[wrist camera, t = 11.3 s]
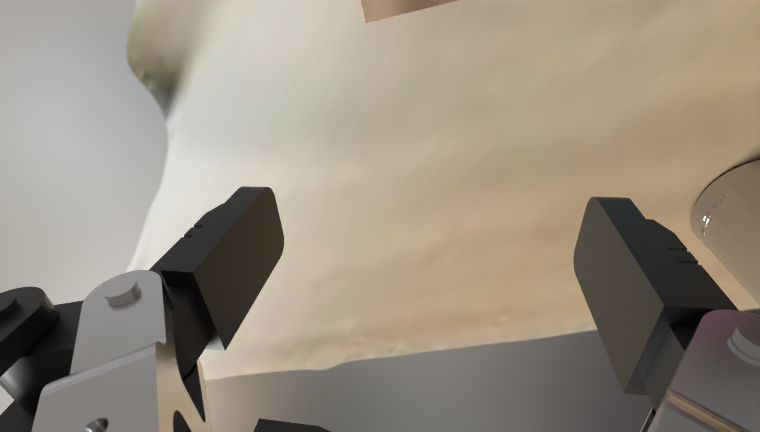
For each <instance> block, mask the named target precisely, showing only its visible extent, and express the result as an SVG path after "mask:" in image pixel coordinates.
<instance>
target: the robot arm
mask: <svg viewBox="0 0 760 432" xmlns="http://www.w3.org/2000/svg"><path fill="white" fill-rule="evenodd" d="M691 225H692V228H693V231H694V233H695V234H696V235H697V237H698V238H699V239H700V240H701V241H702V242H703V243H704V244H705V246H706V247H707V248H708V249H709V250H710V251H711V252H712V253H713V254H714V255H715V256H716V258H717V259H718V260H719V261H720V262H721V263H722V264H723V265H724V267H725V268H726V269H727V270H728V271H729V272H730V273H731V274H732V275H733V276H734V277H735V279H736V280H737V281H738V282H739V283H740V284H741V285H742V286H743V287H744V288H745V289H746V291H747V292H748V293H749V294H750V295H751V296H752V297H753V298H754V299H755V300H756V301H757V303H758V304H759V305H760V160H757V161H753V162H750V163H747V164H744V165H742V166H739V167H737V168H735V169H733V170H731V171H729V172H727V173H726V174H724V175H723V176H721V177H719V178H718V179H717V180H716V181H714V182H713V183H712V184H711V185H710V186H708V187H707V188H706V190H705V191H704V192H703V193H702V194H701V195H700V197H699V198H698V200H697V202H696V204H695V205H694V208H693V211H692V215H691ZM283 248H284V235H283V230H282V226H281V221H280V217H279V213H278V208H277V204H276V199H275V195H274V193H273V191H272V189H271V188H269V187H240V188H239V189H238V190H237V191H236V192H235V193H234V194H233V195H232V196H231V197H230V198H229V199H228V200H227V201H226V202H225V203H224V204H221V205H220V206H218V207H216V208H214V209H213V210H211V211H209V212H207V213H206V214H205V215H204V216H203V217H202V218H201V219H200V220H199V221H198V222H197V223H196V224H195V225H194V228H191V229H190V230H189V231H188V232H187V233H186V234H185V235H184V237H182V238H181V239H180V240H179V241H178V242H177V243H176V244H175V245H174V246H173V247H172V248H171V249H170V250H169V251H168V252H167V253H166V254H165V255H164V256H162V257H161V258H160V259H159V260H158V261H157V262H156V263H155V264H154V265H153V266H152V267H151V268H150V269H149V270H138V271H131V272H127V273H124V274H121V275H118V276H116V277H114V278H111V279H109V280H107V281H106V282H104V283H102V284H101V285H99V286H98V287H96V288H95V289H94V290H93V291H92V292H91V293H90V294H89V295H88V296H87V297H86V298H85V300H84V301H78V302H72V303H65V304H59V305H53V304H52V303H51V301H50V300H49V298H48V297H47V295H46V294H45V293H44V291H43V290H42V289H40V288H37V287H22V288H17V289H12V290H9V291H6V292H3V293H0V385H1V386H2V387H3V388H4V389H5V390H6V391H7V392H8V394H9V395H10V396H11V397H12V398H13V399H14V401H13V403H12V404H11V405H10V406H9V407H8V408H7V409H6V410H5V411H4V412H3V413H2V414H1V415H0V432H213V429H212V423H211V417H210V411H209V405H208V400H207V393H206V388H205V381H204V375H203V369H202V365H201V363H200V360H199V357H200V355H201V354H202V352H203V351H204V349H210V350H220V351H225V350H226V349H227V347H228V345H229V343H230V342H231V340H232V338H233V337H234V335H235V333H236V332H237V330H238V328H239V327H240V325H241V323H242V321H243V320H244V318H245V316H246V315H247V313H248V311H249V310H250V308H251V306H252V305H253V303H254V301H255V300H256V298H257V296H258V294H259V293H260V291H261V289H262V288H263V286H264V284H265V283H266V281H267V279H268V278H269V276H270V274H271V273H272V271H273V269H274V267H275V266H276V264H277V262H278V261H279V259H280V257H281V255H282V252H283ZM574 270H575V274H576V277H577V279H578V282H579V284H580V287H581V289H582V292H583V294H584V297H585V299H586V301H587V304H588V306H589V309H590V311H591V314H592V316H593V319H594V321H595V324H596V326H597V329H598V331H599V334H600V336H601V339H602V341H603V344H604V346H605V348H606V351H607V354H608V356H609V358H610V361H611V363H612V366H613V368H614V371H615V373H616V376H617V378H618V381H619V383H620V386H621V388H622V391H623V393H629V394H639V395H648V397H649V399H650V401H651V403H652V405H653V408H652V409H651V411H650V413H649V415H648V417H647V419H646V421H645V423H644V425H643V427H642V430H641V432H760V316H757V315H755V314H751V313H747V312H743V311H739V310H738V309H737V308H736V306H735V305H734V304H733V303H732V302H731V300H730V299H729V298H728V297H727V296H726V294H725V293H724V292H723V291H722V290H721V289H720V287H719V286H718V285H717V284H716V283H715V281H714V280H713V279H712V278H711V277H710V275H709V274H708V273H707V272H706V271H705V269H704V268H703V267H702V266H701V265H698V261H697V260H696V259H695V257H694V256H693V255H692V254H691V253H690V252H687V248H686V247H685V246H684V244H683V243H682V242H681V241H680V240H679V238H678V237H677V236H676V235H675V234H674V233H673V232H672V231H670V230H668V229H667V228H665V227H664V226H662V225H661V224H659V223H657V222H656V221H654V220H650V219H645V217H644V216H643V215H642V214H641V212H640V211H639V210H638V208H637V207H636V206H635V205H634V203H633V202H632V201H631V200H630V199H629V198H618V197H592V198H590V200H589V201H588V203H587V206H586V210H585V213H584V217H583V221H582V225H581V228H580V232H579V236H578V240H577V243H576V247H575V251H574ZM254 432H331V431H328V430H326V429H323V428H321V427H319V426H313V425H305V424H297V423H290V422H282V421H273V420H266V419H259V420H258V423H257V425H256V427H255V430H254Z"/></svg>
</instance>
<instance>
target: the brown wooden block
mask: <svg viewBox="0 0 760 432" xmlns="http://www.w3.org/2000/svg"><path fill="white" fill-rule="evenodd" d="M453 1H457V0H361V2H362V7H363V11H364V16H365V20H366V23H368V22H372V21H376V20H380V19H384V18H388V17H392V16H396V15H400V14H404V13H408V12H412V11H416V10H420V9H425V8H429V7H433V6H437V5H441V4H445V3H449V2H453Z"/></svg>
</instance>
